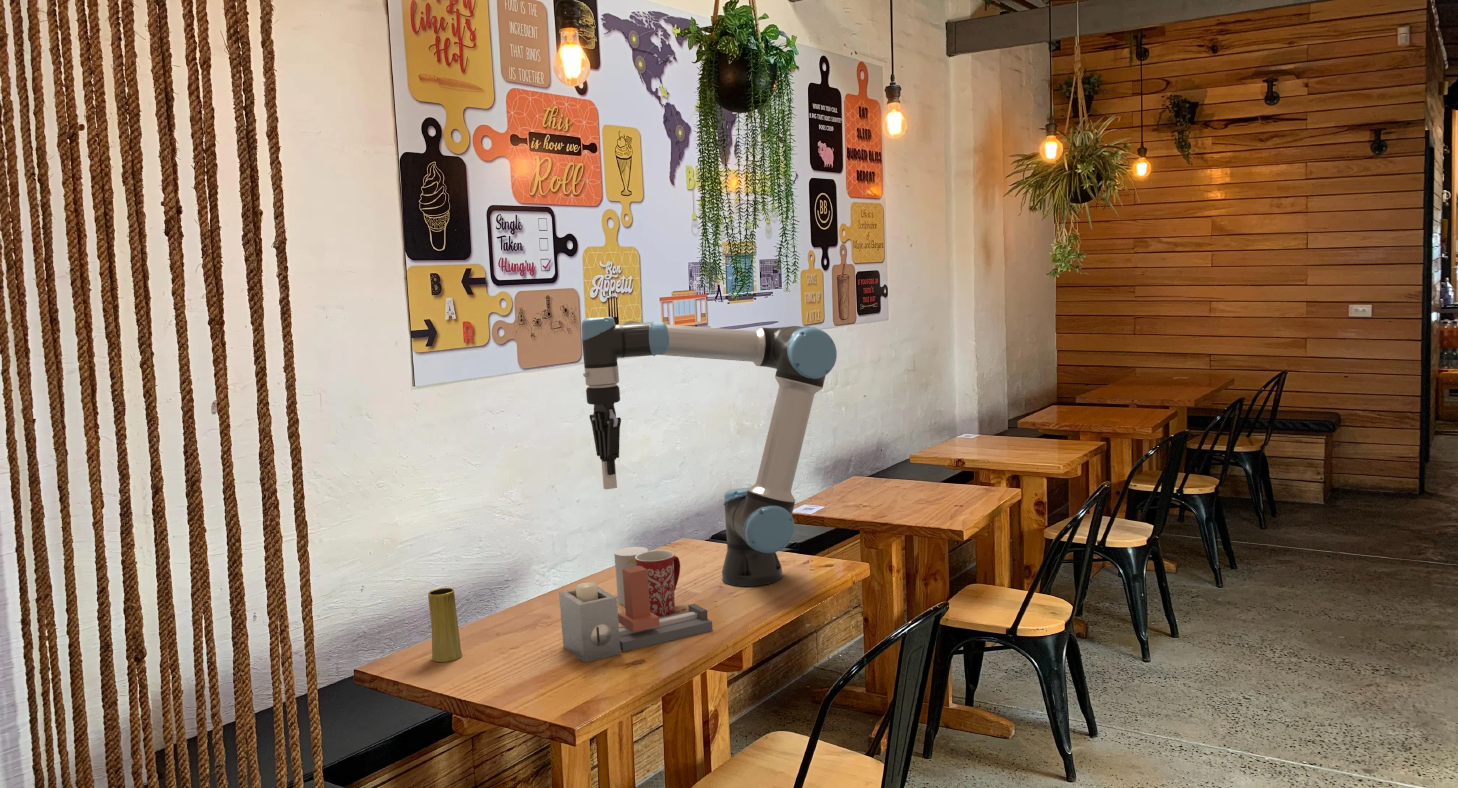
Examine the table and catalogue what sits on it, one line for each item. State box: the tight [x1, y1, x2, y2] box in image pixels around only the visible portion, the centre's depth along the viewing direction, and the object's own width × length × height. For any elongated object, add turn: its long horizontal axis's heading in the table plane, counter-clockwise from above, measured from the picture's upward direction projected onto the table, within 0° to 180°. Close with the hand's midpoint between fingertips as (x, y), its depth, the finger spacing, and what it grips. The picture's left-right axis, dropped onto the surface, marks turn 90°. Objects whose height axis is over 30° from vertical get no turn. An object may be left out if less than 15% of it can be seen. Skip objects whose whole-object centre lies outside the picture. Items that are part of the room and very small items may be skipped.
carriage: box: [618, 566, 660, 632], centre depth 227 cm, size 6×8×12 cm
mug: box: [635, 549, 681, 617], centre depth 246 cm, size 13×9×14 cm
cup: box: [614, 546, 649, 606], centre depth 256 cm, size 8×8×12 cm
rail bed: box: [619, 603, 713, 653], centre depth 230 cm, size 21×10×4 cm, turn 119°
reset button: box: [575, 581, 598, 602], centre depth 221 cm, size 4×4×5 cm
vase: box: [427, 587, 463, 663], centre depth 223 cm, size 6×6×14 cm
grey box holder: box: [558, 586, 622, 664], centre depth 222 cm, size 8×13×12 cm, turn 29°
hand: (610, 488), depth 244 cm, fingers closed
